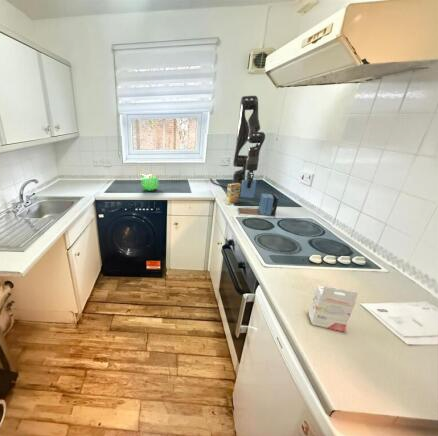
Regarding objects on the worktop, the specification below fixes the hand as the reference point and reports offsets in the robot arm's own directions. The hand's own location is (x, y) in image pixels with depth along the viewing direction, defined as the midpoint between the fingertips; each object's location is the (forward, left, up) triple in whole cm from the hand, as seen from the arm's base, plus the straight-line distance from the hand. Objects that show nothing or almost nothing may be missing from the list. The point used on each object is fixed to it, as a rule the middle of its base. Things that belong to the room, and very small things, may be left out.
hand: (248, 187), depth 169 cm
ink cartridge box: (+108, +13, -15) cm, 110 cm away
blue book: (0, 0, -7) cm, 7 cm away
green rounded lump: (-27, -80, -15) cm, 86 cm away
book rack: (+12, +5, -15) cm, 20 cm away
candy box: (-6, -9, -15) cm, 19 cm away
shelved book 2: (+12, +12, -14) cm, 22 cm away
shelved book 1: (+12, +9, -14) cm, 21 cm away
